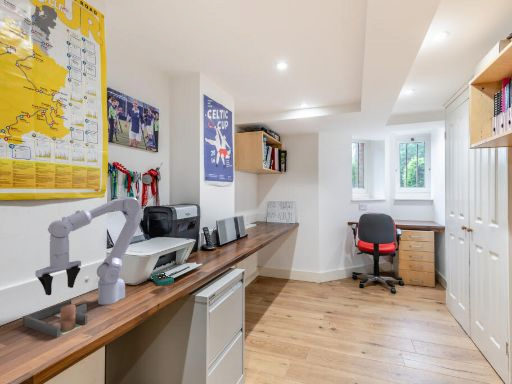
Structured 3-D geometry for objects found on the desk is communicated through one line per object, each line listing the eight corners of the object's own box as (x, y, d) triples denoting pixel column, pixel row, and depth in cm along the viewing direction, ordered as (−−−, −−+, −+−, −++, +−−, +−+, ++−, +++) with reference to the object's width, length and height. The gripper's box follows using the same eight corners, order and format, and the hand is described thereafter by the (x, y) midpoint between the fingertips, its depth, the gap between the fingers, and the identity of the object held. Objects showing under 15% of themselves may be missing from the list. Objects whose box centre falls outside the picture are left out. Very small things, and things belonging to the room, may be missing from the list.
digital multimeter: (159, 287, 131) (159, 281, 131) (149, 278, 142) (149, 273, 142) (174, 283, 136) (174, 277, 136) (163, 276, 147) (163, 270, 147)
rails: (70, 307, 105) (70, 299, 105) (102, 316, 98) (102, 308, 98) (23, 325, 91) (22, 316, 91) (57, 338, 84) (57, 328, 84)
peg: (70, 324, 92) (70, 303, 92) (78, 327, 90) (78, 305, 90) (57, 330, 88) (57, 308, 88) (65, 332, 87) (65, 310, 87)
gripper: (72, 248, 108) (73, 282, 108) (30, 257, 94) (30, 296, 95) (84, 250, 105) (84, 285, 105) (42, 259, 92) (42, 299, 92)
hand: (59, 290), depth 100 cm, fingers open, 7 cm apart
